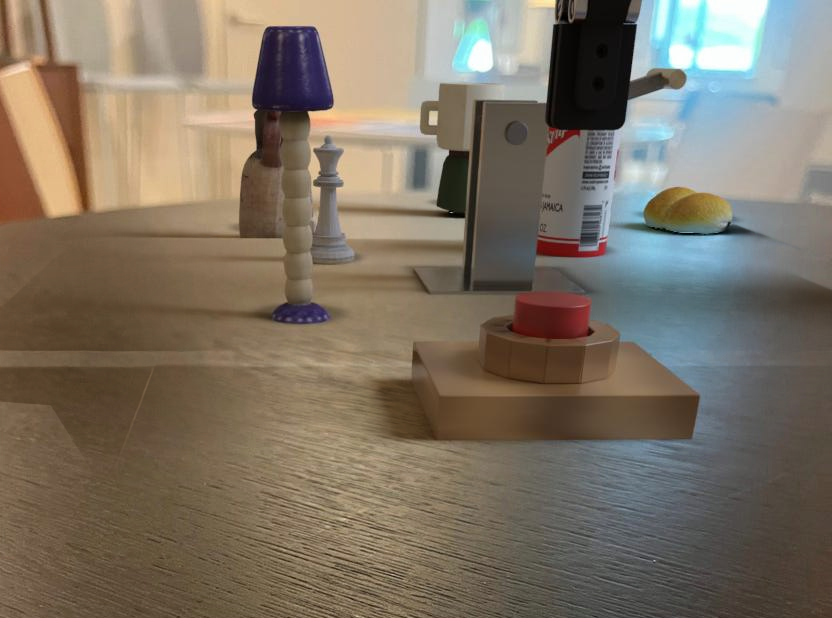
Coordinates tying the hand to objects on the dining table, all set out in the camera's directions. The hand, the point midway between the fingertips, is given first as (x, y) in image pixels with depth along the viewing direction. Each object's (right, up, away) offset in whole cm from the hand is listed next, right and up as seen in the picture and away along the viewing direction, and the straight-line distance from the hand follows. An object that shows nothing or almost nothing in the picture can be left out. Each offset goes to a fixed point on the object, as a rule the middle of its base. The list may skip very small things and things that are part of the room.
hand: (583, 127), depth 45 cm
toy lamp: (-14, -4, +19) cm, 24 cm away
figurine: (-17, +15, +51) cm, 56 cm away
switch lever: (+6, +13, +25) cm, 29 cm away
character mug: (+2, +25, +70) cm, 74 cm away
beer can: (+8, +10, +43) cm, 45 cm away
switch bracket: (0, +3, +30) cm, 30 cm away
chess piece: (-12, +7, +37) cm, 40 cm away
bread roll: (+25, +21, +62) cm, 70 cm away
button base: (-1, -11, +6) cm, 13 cm away
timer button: (-1, -8, +4) cm, 9 cm away
